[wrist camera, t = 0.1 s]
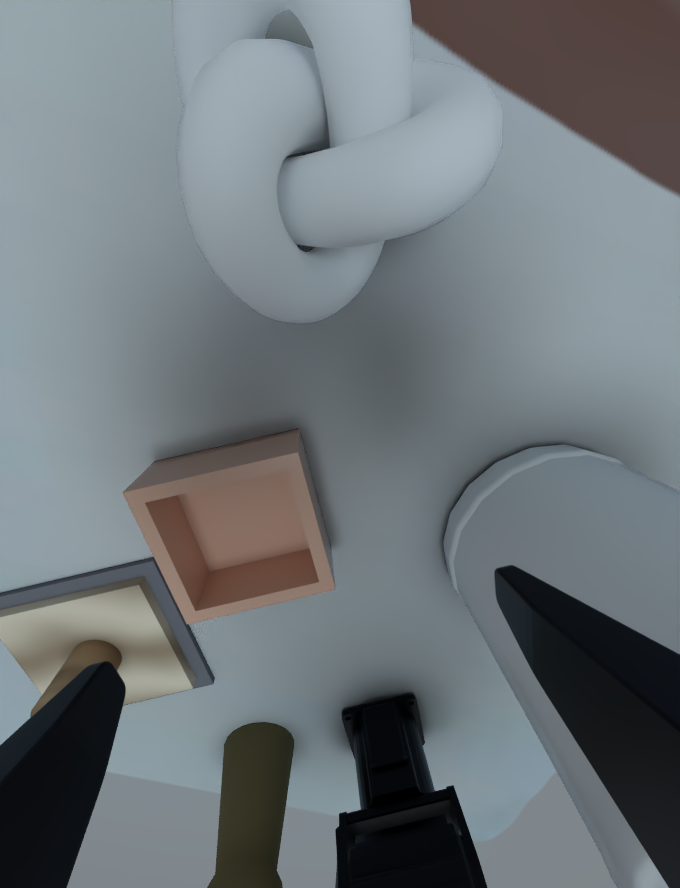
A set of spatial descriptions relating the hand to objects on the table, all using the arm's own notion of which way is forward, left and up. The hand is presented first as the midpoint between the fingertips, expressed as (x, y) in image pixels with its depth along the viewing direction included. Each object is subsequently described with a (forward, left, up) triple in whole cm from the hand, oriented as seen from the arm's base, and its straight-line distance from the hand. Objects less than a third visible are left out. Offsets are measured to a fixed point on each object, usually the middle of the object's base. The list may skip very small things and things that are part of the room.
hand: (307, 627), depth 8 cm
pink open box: (-4, +5, -15) cm, 16 cm away
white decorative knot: (+13, -3, -15) cm, 20 cm away
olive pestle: (-27, +11, -15) cm, 33 cm away
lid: (-12, +18, -14) cm, 26 cm away
